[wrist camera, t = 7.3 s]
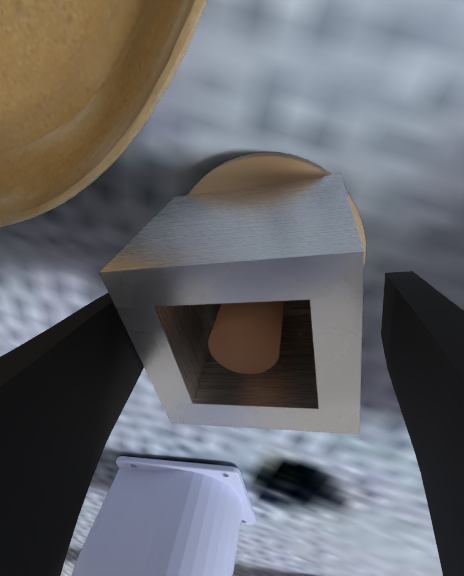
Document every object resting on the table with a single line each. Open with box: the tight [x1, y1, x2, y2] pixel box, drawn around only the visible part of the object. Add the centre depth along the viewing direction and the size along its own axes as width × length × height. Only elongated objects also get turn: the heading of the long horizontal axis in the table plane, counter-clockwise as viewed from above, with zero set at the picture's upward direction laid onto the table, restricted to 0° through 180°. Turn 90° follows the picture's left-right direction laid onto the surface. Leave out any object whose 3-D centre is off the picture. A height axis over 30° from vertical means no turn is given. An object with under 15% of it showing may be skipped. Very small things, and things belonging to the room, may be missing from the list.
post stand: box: [188, 152, 366, 374], centre depth 10 cm, size 7×7×6 cm
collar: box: [99, 174, 364, 434], centre depth 10 cm, size 6×6×5 cm
